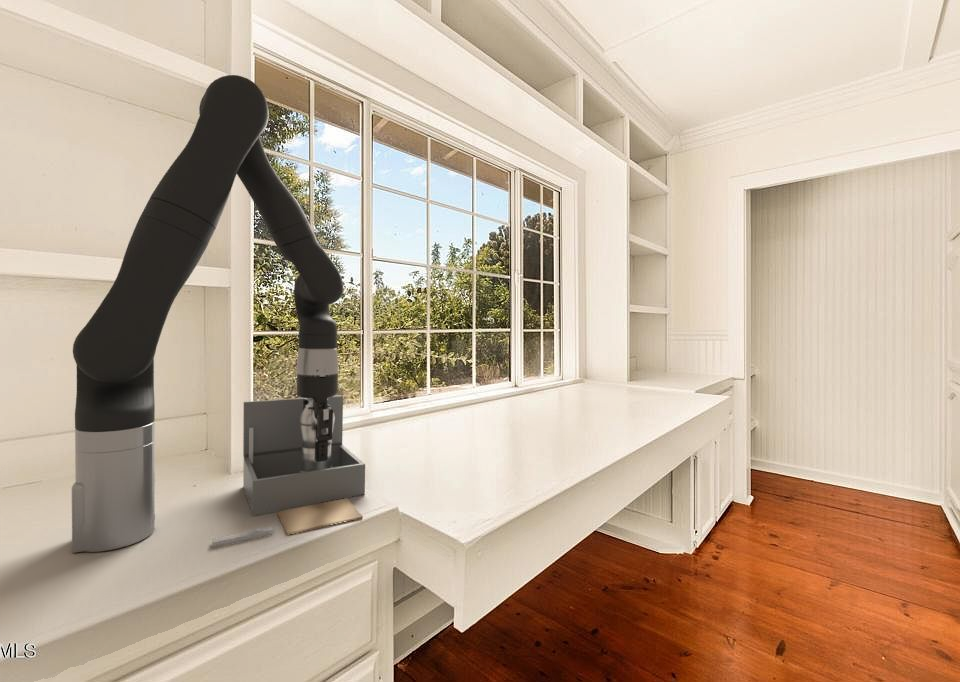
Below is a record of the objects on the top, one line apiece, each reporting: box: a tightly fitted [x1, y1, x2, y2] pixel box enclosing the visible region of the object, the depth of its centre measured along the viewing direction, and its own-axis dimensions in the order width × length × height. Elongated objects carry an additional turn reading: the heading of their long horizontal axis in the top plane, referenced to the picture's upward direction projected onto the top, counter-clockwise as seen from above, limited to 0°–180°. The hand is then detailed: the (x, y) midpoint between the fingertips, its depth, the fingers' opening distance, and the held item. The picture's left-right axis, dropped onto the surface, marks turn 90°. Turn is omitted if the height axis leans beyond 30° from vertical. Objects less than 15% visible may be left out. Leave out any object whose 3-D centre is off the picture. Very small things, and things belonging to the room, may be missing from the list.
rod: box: [211, 526, 273, 549], centre depth 67 cm, size 8×1×1 cm, turn 124°
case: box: [242, 394, 366, 517], centre depth 87 cm, size 20×16×17 cm
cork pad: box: [277, 498, 363, 536], centre depth 76 cm, size 12×9×1 cm
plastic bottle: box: [300, 398, 335, 473], centre depth 86 cm, size 6×7×20 cm
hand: (316, 455), depth 87 cm, fingers open, 6 cm apart
